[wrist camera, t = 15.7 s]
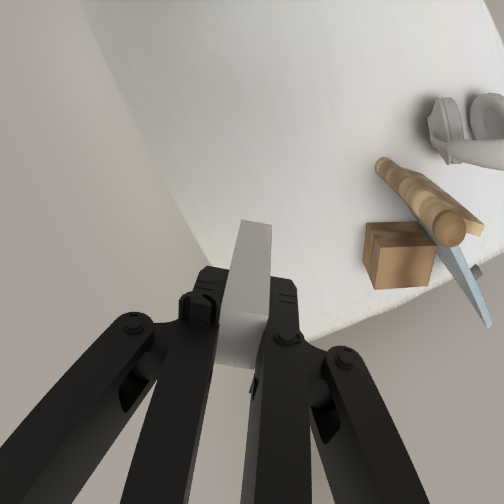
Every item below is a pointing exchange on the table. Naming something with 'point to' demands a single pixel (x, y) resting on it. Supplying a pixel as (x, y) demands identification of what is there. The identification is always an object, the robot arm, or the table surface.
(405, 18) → the table surface
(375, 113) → the table surface
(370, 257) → the walnut block
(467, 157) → the headphones
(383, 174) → the brown long wooden part
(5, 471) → the robot arm
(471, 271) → the door
